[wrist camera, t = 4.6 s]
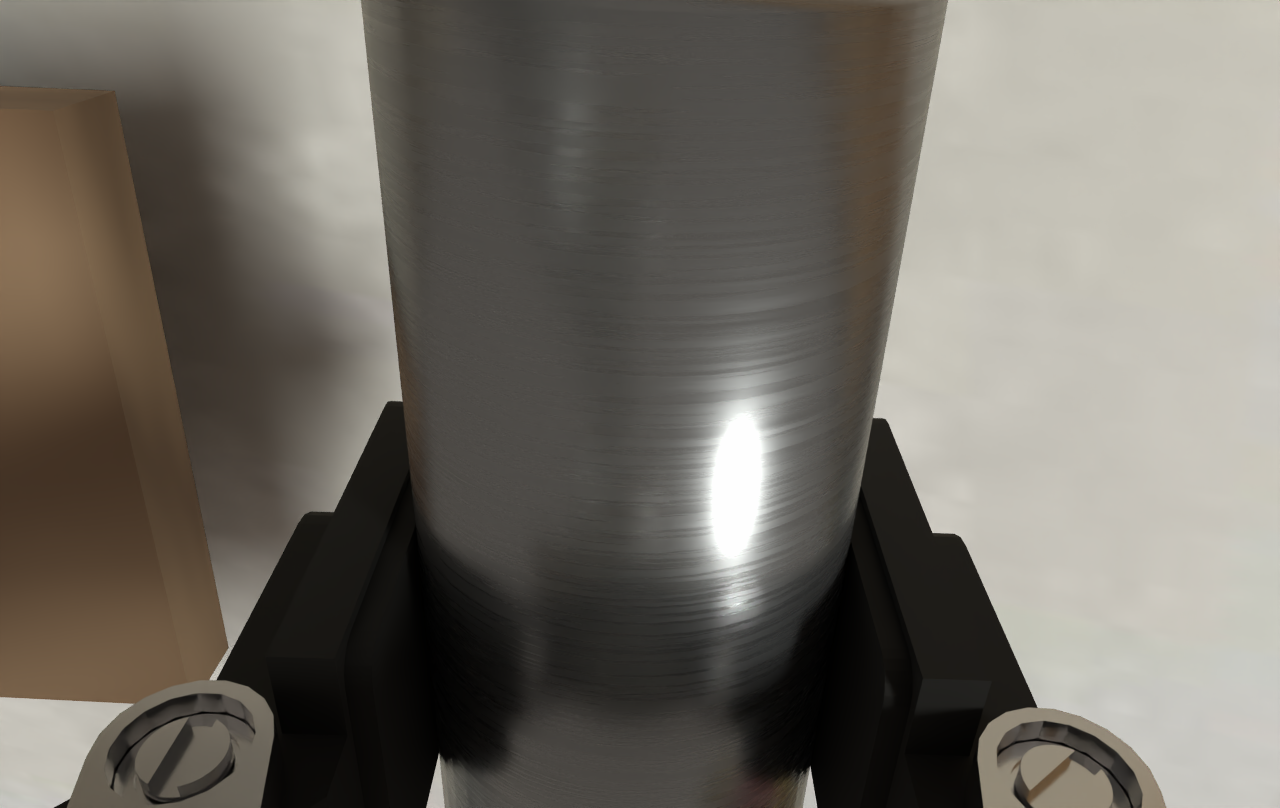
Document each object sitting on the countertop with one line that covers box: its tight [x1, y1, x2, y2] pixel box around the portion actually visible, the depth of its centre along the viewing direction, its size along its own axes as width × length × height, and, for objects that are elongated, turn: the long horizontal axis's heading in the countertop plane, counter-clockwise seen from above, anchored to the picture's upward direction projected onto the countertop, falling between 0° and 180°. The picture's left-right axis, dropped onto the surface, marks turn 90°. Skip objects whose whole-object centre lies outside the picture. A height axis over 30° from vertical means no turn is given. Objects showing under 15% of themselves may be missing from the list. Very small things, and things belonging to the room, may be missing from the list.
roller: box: [361, 0, 948, 808], centre depth 10 cm, size 12×4×4 cm, turn 178°
